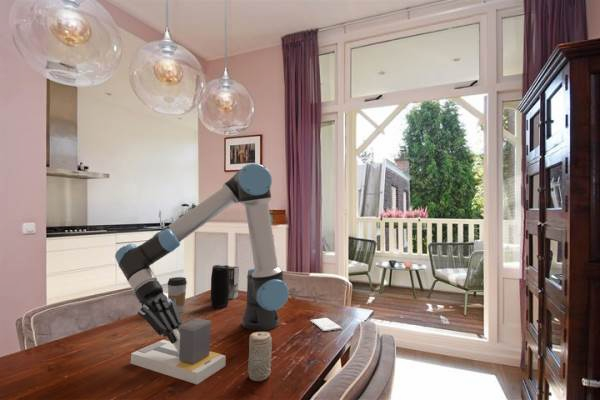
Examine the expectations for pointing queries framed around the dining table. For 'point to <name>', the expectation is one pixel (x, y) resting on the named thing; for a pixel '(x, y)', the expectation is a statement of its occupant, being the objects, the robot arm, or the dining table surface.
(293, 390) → the dining table surface
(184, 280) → the coffee cup
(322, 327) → the external hard drive
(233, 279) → the coffee box
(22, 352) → the dining table surface
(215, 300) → the portable speaker
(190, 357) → the switch tab
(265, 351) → the carving
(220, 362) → the switch panel
